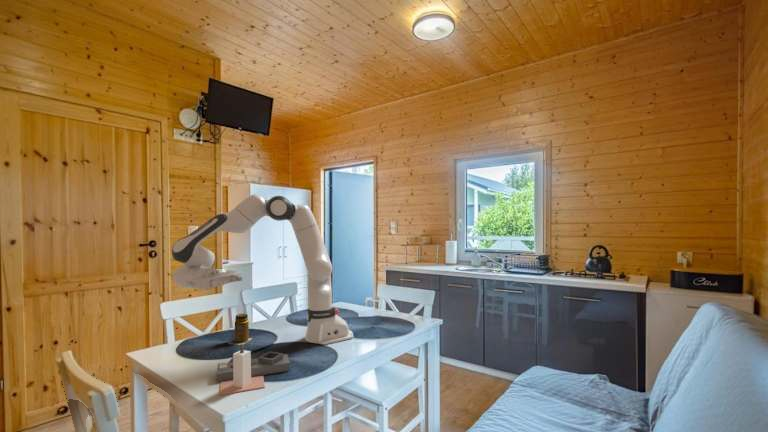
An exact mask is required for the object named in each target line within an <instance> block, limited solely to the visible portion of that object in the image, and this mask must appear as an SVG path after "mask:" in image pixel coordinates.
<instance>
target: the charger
mask: <svg viewBox="0 0 768 432" xmlns="http://www.w3.org/2000/svg"><path fill="white" fill-rule="evenodd" d="M244 345H245V344H240V345H239V350H237V351H236V352H234V353H233V354H232V362H233V380H232V381H233V384H234V386H235V387H240V388H244V387H245V386H247V385H249V384H250V383H251V359H252V354H251V353H252V351H251V350H246V349H244V348H245V346H244Z"/></svg>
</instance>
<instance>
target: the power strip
mask: <svg viewBox="0 0 768 432" xmlns="http://www.w3.org/2000/svg"><path fill="white" fill-rule="evenodd" d="M289 371H291V361H290V359H289V356H288V353H281V352H276V351H271V350H270V351H268V352H265V353H264V354H262V355H260V356H259V357H257V358H251V377H258V376H264V375H265V376H266V375H270V374H271V375H272V374H278V373H283V372H289ZM215 378H216V383H221V382H227V381H233V361H229V362H223V363H221V362H220V363H218V364H217V368H216V377H215Z"/></svg>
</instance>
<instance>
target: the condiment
mask: <svg viewBox="0 0 768 432" xmlns="http://www.w3.org/2000/svg"><path fill="white" fill-rule="evenodd" d="M249 322H250V321H249V319H248V314H247V313H239V314H236V315H235V320H234V340H231V342H228V343H227V344H228V345H236V346H238V345H239V346H240V344H244V345H245V344H246V343H249V342H250V341H251V340H252V339H253V337H252V338H250V337H249V336H250V335H249V333H250V332H249V329H250V328H249V327H250V325H249Z"/></svg>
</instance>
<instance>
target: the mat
mask: <svg viewBox="0 0 768 432" xmlns="http://www.w3.org/2000/svg"><path fill="white" fill-rule="evenodd" d="M264 378H265V377H264V375H260V376H254V377H251V383H250V384H249V385H247V386H245V387H244V388H240V387H235V386H234V384H233V380H229V381H223V382H220V388H219V395H218V396H219V397H221V396H225V395H231V394H239V393H243V392H249V391H254V390H260V389H265V388H266V385H265V379H264Z"/></svg>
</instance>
